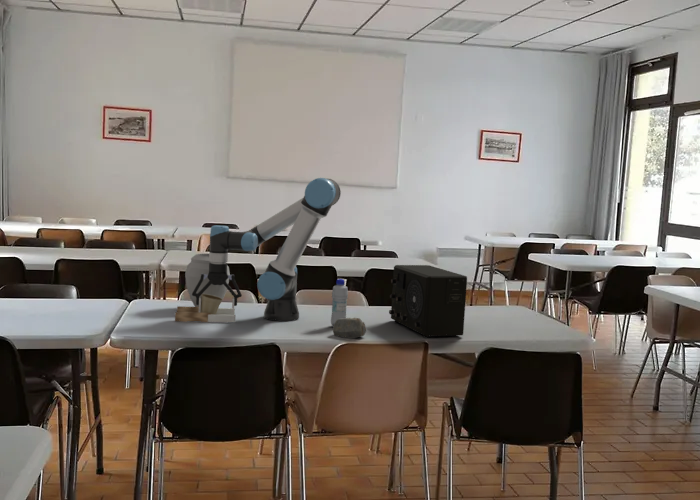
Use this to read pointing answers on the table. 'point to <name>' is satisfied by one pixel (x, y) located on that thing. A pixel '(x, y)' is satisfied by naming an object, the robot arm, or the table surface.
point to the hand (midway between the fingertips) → (216, 313)
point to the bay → (222, 315)
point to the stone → (349, 327)
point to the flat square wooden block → (190, 314)
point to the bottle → (339, 301)
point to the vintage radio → (429, 300)
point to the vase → (193, 276)
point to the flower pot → (210, 303)
